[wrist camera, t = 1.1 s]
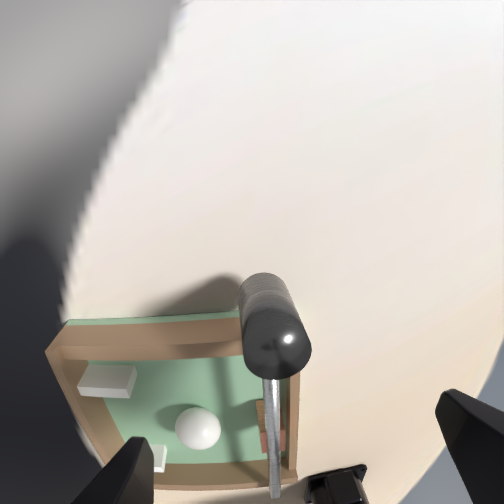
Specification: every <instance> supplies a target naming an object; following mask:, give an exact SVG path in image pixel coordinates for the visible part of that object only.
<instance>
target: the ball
mask: <svg viewBox="0 0 504 504" xmlns="http://www.w3.org/2000/svg"><path fill="white" fill-rule="evenodd" d="M175 432H176V435H177V437H178V439H179V441H180V442H181V443H182V444H183V445H185V446H186V447H188V448H190V449H194V450H204V449H207V448H210V447H211V446H213V445H214V444H215V443H216V442H217V441H218V439H219V437H220V434H221V426H220V422H219V420H218V418H217V417H216V416H215V415H214V414H213V413H212V412H211V411H209V410H207V409H205V408H201V407H193V408H189V409H187V410H185V411H183V412H182V413H181V414H180V415H179V416H178V418H177V420H176V423H175Z"/></svg>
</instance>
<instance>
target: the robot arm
mask: <svg viewBox="0 0 504 504" xmlns="http://www.w3.org/2000/svg"><path fill="white" fill-rule="evenodd" d="M435 415H436V418H437V421H438V423H439V426H440V428H441V431H442V434H443V437H444V439H445V442H446V445H447V448H448V450H449V452H450V455H451V457H452V459H453V461H454V463H455V465H456V467H457V469H458V471H459V474H460V476H461V478H462V480H463V482H464V484H465V486H466V488H467V491H468V493H469V495H470V498H471V500H472V502H473V504H504V412H503V411H500V410H498V409H496V408H494V407H492V406H490V405H487V404H486V403H483V402H481V401H479V400H477V399H475V398H473V397H471V396H469V395H467V394H464V393H462V392H460V391H458V390H456V389H449V390H447V391H444V392H443V393H442V394H441V396H440V399H439V401H438V404H437V406H436V409H435ZM366 470H367V466H366V465H360V466H357V467H353V468H349V469H344V470H340V471H336V472H331V473H327V474H322V475H317V476H312V477H309V478H308V479H307V485H306V492H305V503H306V504H308V503H312V504H369V502H368V499H367V496H366V494H365V491H364V488H363V486H362V481H363V478H364V476H365V473H366ZM153 502H154V454H153V452H152V449H151V447H150V445H149V443H148V441H147V439H146V438H145V437H140V436H132V437H130V438H129V439H128V440H127V442H126V443H125V444H124V445H123V446H122V447H121V448H120V450H119V451H118V452H117V453H116V454H115V455H114V456H113V457H112V459H111V460H110V461H109V462H108V463H107V464H106V465H105V466H104V468H103V469H102V470H101V471H100V472H99V473H98V474H97V475H96V477H95V478H94V479H93V480H92V481H91V482H90V483H89V484H88V485H87V486H86V488H85V489H84V490H83V491H82V492H81V493H80V494H79V495H78V496H77V497H76V498H75V500H74V501H73V502H72V503H71V504H153Z"/></svg>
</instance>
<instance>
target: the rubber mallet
mask: <svg viewBox="0 0 504 504" xmlns="http://www.w3.org/2000/svg"><path fill="white" fill-rule="evenodd" d="M238 305H239V316H240V327H241V337H242V348H243V358H244V362H245V365H246V367H247V368H248V370H249V371H250V372H251V373H252V374H254V375H255V376H257V377H259V378H262V386H263V400H258V401H256V410H257V421H258V429H259V436H260V444H261V451H262V453H267V460H268V475H269V490H270V497H271V498H272V499H278V498H279V497H280V496H281V466H280V451H285V433H286V430H285V425H284V421H283V416H282V412H281V407H280V403H279V380H281V379H285V378H288V377H291V376H293V375H295V374H296V373H298V372H299V371H301V370H302V369H303V368H304V367H305V365H306V364H307V363H308V361H309V359H310V356H311V351H312V348H311V343H310V340H309V338H308V336H307V333H306V331H305V329H304V326H303V324H302V322H301V319H300V317H299V315H298V313H297V310H296V308H295V306H294V303H293V301H292V299H291V297H290V294H289V292H288V290H287V287H286V285H285V283H284V282H283V281H282V280H281V279H280V278H279V277H278V276H276V275H273V274H270V273H258V274H254V275H252V276H250V277H249V278H247V279H246V280H245V281H244V282H243V283H242V285H241V286H240V288H239V291H238Z"/></svg>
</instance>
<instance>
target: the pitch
mask: <svg viewBox="0 0 504 504" xmlns="http://www.w3.org/2000/svg"><path fill="white" fill-rule="evenodd" d="M45 354H46V356H47V359H48V361H49V363H50V365H51V368H52V370H53V372H54V374H55V376H56V379H57V381H58V383H59V385H60V387H61V389H62V391H63V393H64V395H65V397H66V399H67V401H68V403H69V405H70V407H71V408H72V410H73V412H74V414H75V416H76V418H77V419H78V421H79V423H80V425H81V426H82V428H83V430H84V432H85V433H86V435H87V437H88V438H89V440H90V441H91V443H92V445H93V446H94V448H95V449H96V451H97V453H98V454H99V456H100V457H101V459H102V460H103V462H104V463H105V465H106V464H107V463H108V462H109V461H110V460H111V459H112V457H113V456H114V455H115V454H116V453H117V452H118V451H119V450H120V448H121V447H122V446H123V445H124V444H125V443H126V442H127V440H128V439H129V438H130V437H132V436H140V437H145V438H146V439H147V441H148V443H149V445H150V447H151V449H152V452H153V454H154V489H160V490H187V491H205V490H233V489H247V488H258V487H268V486H269V475H268V460H267V453H262V451H261V444H260V436H259V429H258V421H257V410H256V401H258V400H263V386H262V378H259V377H257V376H255V375H254V374H252V373H251V372H250V371H249V370H248V368H247V367H246V365H245V362H244V358H243V348H242V337H241V327H240V316H239V311H228V312H216V313H203V314H189V315H174V316H157V317H138V318H113V319H76V320H69V321H68V322H67V323H66V325H65V326H64V327H63V328H62V330H61V331H60V332H59V333H58V335H57V336H56V337H55V338H54V340H53V341H52V342H51V344H50V345H49V346H48V348H47V349H46V350H45ZM299 392H300V371H299V372H298V373H296V374H295V375H293V376H291V377H288V378H285V379H281V380H279V403H280V407H281V412H282V416H283V421H284V425H285V430H286V433H285V451H280V466H281V485H284V484H291V483H297V480H298V476H297V472H296V460H297V442H298V420H299ZM193 407H201V408H205V409H207V410H209V411H211V412H212V413H213V414H214V415H215V416H216V417H217V418H218V420H219V422H220V426H221V434H220V437H219V439H218V441H217V442H216V443H215V444H214V445H213V446H211V447H210V448H207V449H204V450H194V449H190V448H188V447H186V446H185V445H183V444H182V443H181V442H180V441H179V439H178V437H177V435H176V432H175V423H176V420H177V418H178V416H179V415H180V414H181V413H182V412H183V411H185V410H187V409H189V408H193Z"/></svg>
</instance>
